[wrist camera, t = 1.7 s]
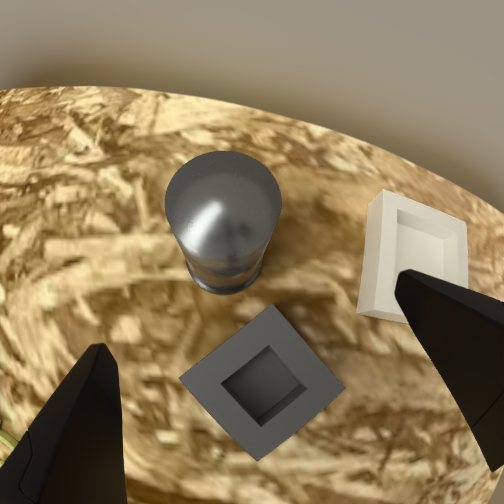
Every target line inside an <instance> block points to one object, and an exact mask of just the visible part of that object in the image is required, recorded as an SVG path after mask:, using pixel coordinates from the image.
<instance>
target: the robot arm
mask: <svg viewBox="0 0 504 504" xmlns="http://www.w3.org/2000/svg"><path fill="white" fill-rule="evenodd" d="M394 295H395V299H396V301H397V303H398V305H399V306H400V308H401V310H402V312H403V314H404V315H405V317H406V319H407V321H408V323H409V325H410V327H411V329H412V330H413V332H414V334H415V336H416V337H417V339H418V341H419V342H420V344H421V345H422V347H423V348H424V350H425V351H426V353H427V354H428V356H429V358H430V359H431V361H432V362H433V364H434V366H435V367H436V369H437V371H438V372H439V374H440V375H441V377H442V379H443V380H444V382H445V384H446V386H447V387H448V389H449V391H450V392H451V394H452V396H453V398H454V399H455V401H456V403H457V405H458V406H459V408H460V410H461V412H462V414H463V416H464V417H465V419H466V421H467V423H468V425H469V427H470V428H471V431H472V433H473V435H474V437H475V439H476V441H477V443H478V445H479V447H480V449H481V451H482V453H483V455H484V457H485V460H486V462H487V464H488V466H489V468H490V470H491V472H494V471H495V470H497V469H498V468H500V467H501V466H503V465H504V302H503V301H502V302H501V301H500V300H497V299H494V298H492V297H489V296H486V295H484V294H481V293H478V292H475V291H473V290H470V289H467V288H464V287H462V286H459V285H456V284H453V283H450V282H448V281H445V280H442V279H439V278H436V277H433V276H430V275H427V274H425V273H422V272H419V271H416V270H413V269H406V270H403V271H401V272H399V274H398V276H397V281H396V286H395V291H394ZM0 504H128V503H127V495H126V485H125V473H124V458H123V433H122V407H121V398H120V387H119V375H118V366H117V363H116V360H115V359H114V357H113V356H112V354H111V352H110V351H109V349H108V347H107V346H106V344H104V343H95V344H91V345H90V346H89V347H88V348H87V350H86V351H85V352H84V354H83V355H82V356H81V357H80V359H79V360H78V361H77V362H76V364H75V365H74V366H73V368H72V369H71V370H70V371H69V373H68V374H67V375H66V377H65V378H64V379H63V381H62V382H61V383H60V385H59V386H58V387H57V389H56V390H55V391H54V393H53V394H52V395H51V397H50V398H49V400H48V401H47V402H46V404H45V405H44V406H43V408H42V409H41V411H40V412H39V413H38V415H37V416H36V418H35V419H34V421H33V422H32V423H31V425H30V426H29V428H28V431H26V432H25V434H24V435H23V437H22V438H21V440H20V441H19V442H18V444H17V445H16V447H15V448H14V450H13V451H12V453H11V454H10V455H9V457H8V458H7V459H6V461H5V462H4V463H3V465H2V466H1V467H0Z"/></svg>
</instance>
